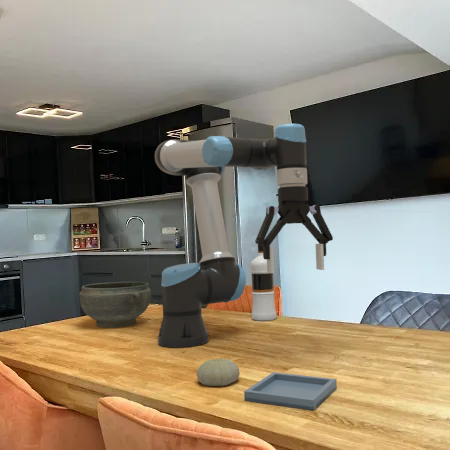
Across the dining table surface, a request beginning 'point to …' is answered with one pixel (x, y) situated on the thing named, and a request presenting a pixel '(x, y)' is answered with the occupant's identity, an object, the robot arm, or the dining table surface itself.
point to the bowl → (115, 302)
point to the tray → (291, 390)
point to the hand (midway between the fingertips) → (295, 271)
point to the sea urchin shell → (218, 372)
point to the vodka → (262, 289)
